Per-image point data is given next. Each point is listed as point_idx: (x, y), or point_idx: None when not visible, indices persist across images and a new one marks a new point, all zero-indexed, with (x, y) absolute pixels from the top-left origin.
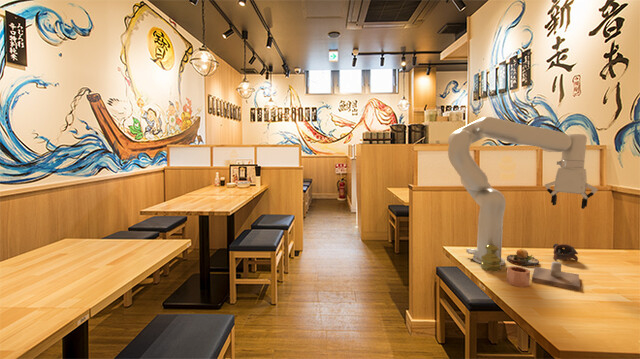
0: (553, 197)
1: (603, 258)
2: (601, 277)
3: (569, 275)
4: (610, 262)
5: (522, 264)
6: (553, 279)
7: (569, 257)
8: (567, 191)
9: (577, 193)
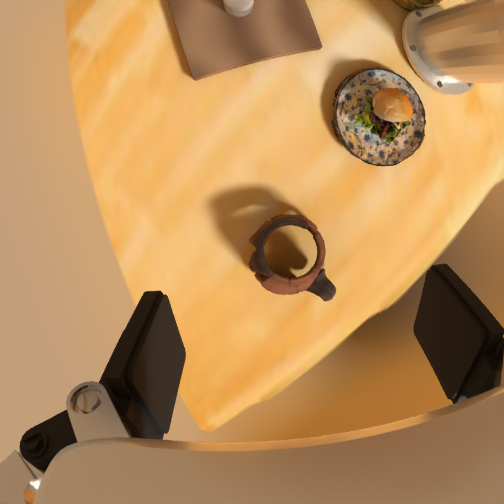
0: (489, 317)
1: (217, 351)
2: (154, 155)
3: (209, 43)
4: (193, 329)
5: (366, 73)
6: None
7: (265, 226)
8: (380, 445)
9: (154, 441)
